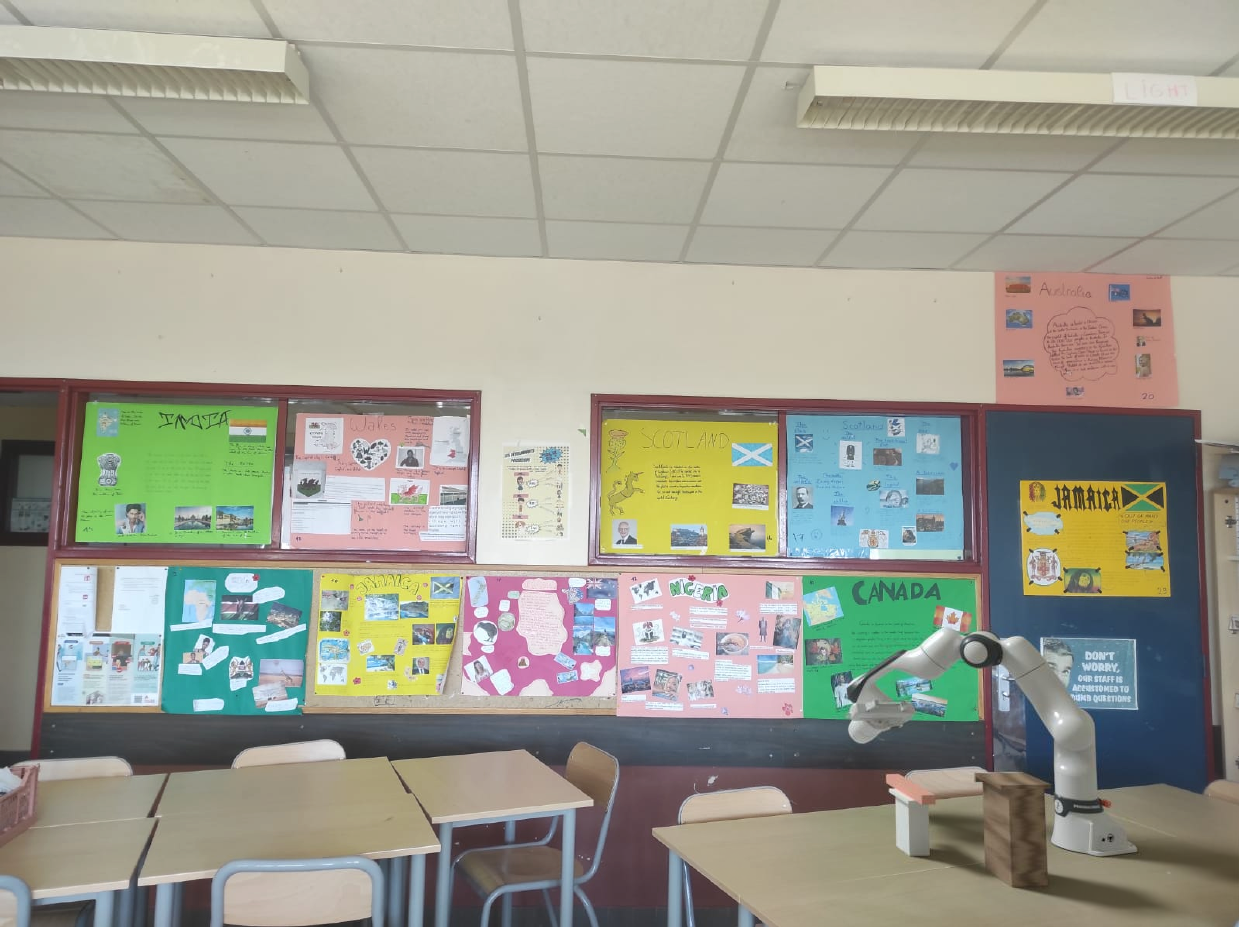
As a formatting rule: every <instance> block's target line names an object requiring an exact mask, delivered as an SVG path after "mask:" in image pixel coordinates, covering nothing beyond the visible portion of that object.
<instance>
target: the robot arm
mask: <svg viewBox="0 0 1239 927" xmlns="http://www.w3.org/2000/svg"><path fill="white" fill-rule="evenodd" d="M959 660H962V661H963V662H964V663H965V665H967V666H969V667H971V668H974V669H982V670H983V669H987V668H988V669H989V668H991V667H996V666H1000V665H1001V666H1002V667H1004V669H1006V670H1007V671H1008V673H1009V674H1010V676H1011V677H1012V679H1013V680H1014V681H1015V683H1016V685H1017V686H1018V687H1019V689H1021V691H1022V692H1023V694H1024V695H1025V696H1026V698H1027V699H1028V700H1029V702H1030V704H1031V705H1032V706H1033V708H1034V710H1035V711H1036V713H1037V715H1038V716H1039V719H1041V721H1042V723H1043V725H1044V726H1045V727H1046V729H1047V731H1048V733H1050V735H1051V736H1052V738H1053V771H1054V772H1053V773H1054V774H1053V775H1054V792H1053V807H1054V823H1053V830H1052V836H1051V839H1050V841H1051V843H1052V844H1054V845H1055V846H1057V847H1060V848H1062V849H1065V850H1069V851H1073V852H1077V853H1083V854H1088V855H1091V856H1095V857H1107V856H1115V855H1124V854H1129V853H1130V854H1131V853H1137V852H1138V848H1137V846H1136V845H1135V844H1134V843H1131V842H1130V841H1128V837H1127V836H1128V835H1127V833H1126V829H1125V827H1124V826H1123V825H1122V824H1121V823H1120V822H1119V821H1117V820H1116V819H1115V818H1113V817H1112V816H1111V815H1110V814H1109V813H1108V812H1106V811H1105V808H1107V809H1110V808H1111V807H1112V802H1111V801H1110V800H1107V799H1102V798H1100V797H1098V780H1097V779H1098V778H1097V776H1098V775H1097V750H1096V726H1095V721H1094V719H1093V717H1092V716H1091V715H1090V714H1089V712H1087V711H1086V710H1084V709H1083V708H1080V706H1079V705H1078V704H1077V702H1076V701H1075V699H1074V698H1073V696H1072V695H1071V693H1070V692H1069V690H1068V689H1067V687H1066V686H1065V684H1064V683H1063V681H1062V680H1061V679H1060V677H1059V676H1058V674H1057V673H1056V672H1055V671H1054V669H1053V668H1052V667H1051V665H1050V664H1049V663H1048V661H1047V660H1046V659H1045V657H1044V656H1043V655H1042V654H1041V653H1040V652H1039V650H1038V649H1037V648H1036V647H1035V646H1034V645H1033V644H1032V643H1031V642H1030V641H1029V640H1027V639H1026V638H1025V637H1024V636H1020V635H1014V636H1010V637H1008V638H1006V639H1003V640H1002V639H1001V638H1000V637H999V636H998V635H997V634H996V633H994V632H992V631H990V630H987V629H986V630H985V629H984V630H978V631H977V630H976V631H974V632H969V633H965V634H964V635H963V634H961V633H959V632H958V631H957V630H956V629H954V628H952V627H948V626H947V627H942V628H939V629H938V630H936V631H935V632H934V633H932V634H930V636H928V637H927V638H926V639H925V640H924V641H923V642H922V643H920V645H918V646H917V647H916V648H913V649H910V650H906V649H904V648H903V649H900V650H898V651H896V652H894V653H893V654H892V655H890V656H889V657H887V658H885V659H884V660H882V661H881V662H880V663H878V664H877V665H875V666H873V667H871V669H869V670H868V671H867V672H866V673H864V674H862V675H859V676H857V677H855V678H853V679H852V681H850V682H849V684H847V687H846V696H847V700H849V701H850V702H851V703H852V704H851V706H850V708H849V712H847V714H845V718H847V719H848V720H849V719H850V720H851V721H850V723H849V725H848V728H847V731H848V734H849V737H850V738H851V739H852V740H853V741H854V742H856V743H857V744H867V743H868V742H872V741H873V739H875V738H876V737H877V736H878V735H879V734H884V733H886V732H888V731H889V730H892V729H898V728H902V727H903V726H904V723H907V722H909V721H910V720H911V719H913V717H914V716H915V715H916V709H915V706H914V703H912V702H908V700H907V699H901V700H900V702H895V701H893V699H891V698H890V697H889V696H888V695H887V694H886V693H885V692H884V691H882V690H881V688H880V687H878V686H877V684H876V682H877V681H878V680H880V679H881V678H883V677H884V676H885V675H887V674H888V673H889V672H892V671H900V672H903V673H905V674H908V675H910V676H913V677H914V678H916V679H921V680H924V681H932V680H933V681H934V680H937V679H938V678H939V677H941V676H942V675H943V674H945V673H946V672H947V671H948V670H949V669H950V668H951V667H952V666H953V665H954V664H955V663H957V661H959ZM1104 807H1105V808H1104Z"/></svg>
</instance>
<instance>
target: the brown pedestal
mask: <svg viewBox="0 0 1239 927" xmlns="http://www.w3.org/2000/svg"><path fill="white" fill-rule="evenodd" d="M973 778H974V779H973V780H974V783H981V784H982V806H983V807H982V809H983V810H982V811H983V813H982V814H983V837H984V840H983V841H984V842H983V843H984V869H985V870H986V871H987V872H989V873H990V874H992V875H994V877H996V878H997V879H999V880H1001V881H1002V882H1004V883H1005V884H1007V885H1008V886H1010V887H1011V888H1017V887H1018V888H1019V887H1021V888H1022V887H1023V888H1024V887H1045V886H1047V887H1048V886H1049V870H1048V852H1047V851H1048V845H1047V824H1046V823H1047V822H1046V821H1047V820H1046V801H1045V800H1046V798H1045V796H1046V795H1045V789H1052V783H1049V782H1046V781H1045V780H1041V779H1040V778H1037V777H1035V776H1033V775H1031V774H1028V773H1025V772H1023V771H992V772H991V771H989V772H986V771H985V772H983V771H982V772H980V771H979V772H974V773H973Z"/></svg>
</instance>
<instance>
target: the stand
mask: <svg viewBox="0 0 1239 927" xmlns="http://www.w3.org/2000/svg"><path fill="white" fill-rule="evenodd" d="M888 793H890V795H893V796H895V797H894V798H895V845H896V846H895V847H897V848H899V849H900V850H901V851H902V852H904V854H906V855H908V856H909V857H918V856H926V857H927V856H930V855H931V854H930V853H931V850H930V817H929V816H930V810H929V809H930V808H929V806H930V805H922V804H920V803H918V802H917V801H915V800H913V799H912V798H910V797H908V796H907V795H905V794H904V793H902V792H900V791H899V790H897V789H895V788H888Z"/></svg>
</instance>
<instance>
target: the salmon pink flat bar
mask: <svg viewBox="0 0 1239 927" xmlns="http://www.w3.org/2000/svg"><path fill="white" fill-rule="evenodd" d="M885 783H886V784H887V785H889V786H890V787H892V788H893V789H897V790H899V791H900V792H902V793H904V794H905V795H907V796H908V797H910V798H912V799H913V800H915V801H917V802H918V803H920V804H922V805H929V806H930V805H931V806H933V805H936V803H937V802H936V794H934V793H933V792H930V791H929V790H927V789H925V788H924V787H922V786H921V785H918V784H917V783H915V782H913V781H911V780H909V779H907V778H906V777H904V776H903V775H901V774H899V773H887V774H886V773H885Z"/></svg>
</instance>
